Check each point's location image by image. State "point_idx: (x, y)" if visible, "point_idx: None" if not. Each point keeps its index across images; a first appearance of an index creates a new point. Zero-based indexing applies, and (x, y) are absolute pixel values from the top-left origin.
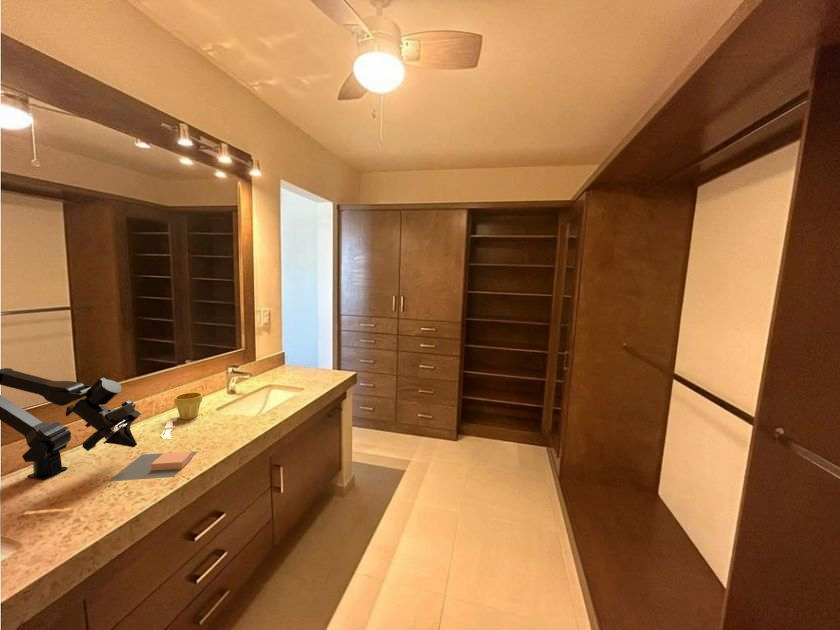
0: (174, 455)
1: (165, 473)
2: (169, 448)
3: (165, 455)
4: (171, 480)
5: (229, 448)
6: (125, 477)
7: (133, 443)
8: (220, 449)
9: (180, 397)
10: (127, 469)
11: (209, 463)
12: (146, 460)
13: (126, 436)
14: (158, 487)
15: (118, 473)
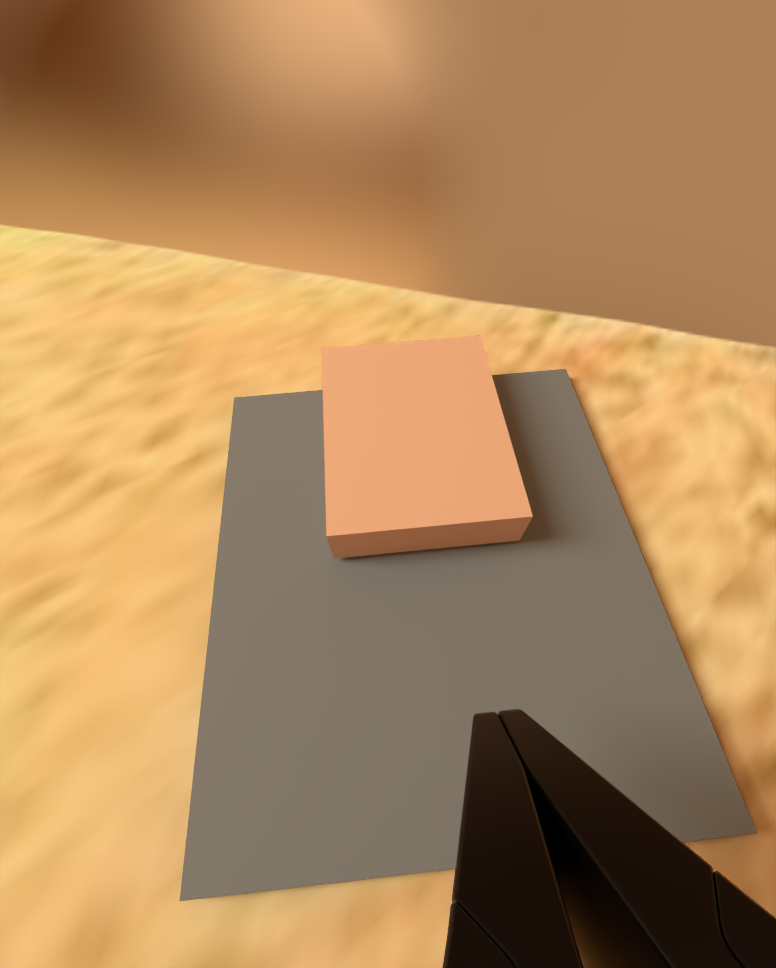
0: (379, 426)
1: (539, 430)
2: (74, 674)
3: (378, 490)
4: (582, 380)
5: (213, 286)
6: (656, 691)
7: (549, 737)
8: (214, 318)
9: None
10: None
11: (386, 301)
12: (340, 719)
13: (725, 958)
14: (664, 402)
15: None
